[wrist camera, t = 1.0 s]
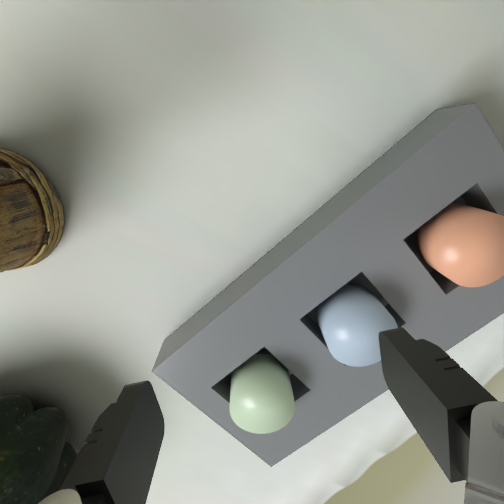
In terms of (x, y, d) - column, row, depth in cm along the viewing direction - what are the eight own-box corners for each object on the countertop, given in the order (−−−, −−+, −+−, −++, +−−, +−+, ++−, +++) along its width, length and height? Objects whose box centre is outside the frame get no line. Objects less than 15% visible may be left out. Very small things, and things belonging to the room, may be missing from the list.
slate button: (354, 272, 23) (371, 291, 20) (391, 314, 25) (411, 338, 22) (304, 311, 24) (312, 335, 21) (341, 350, 26) (354, 378, 23)
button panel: (436, 109, 23) (475, 102, 19) (526, 248, 26) (573, 266, 22) (164, 340, 28) (151, 371, 25) (268, 428, 32) (271, 466, 28)
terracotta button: (462, 188, 22) (498, 196, 19) (496, 239, 23) (534, 254, 20) (402, 235, 23) (427, 249, 20) (438, 280, 24) (466, 301, 21)
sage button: (262, 343, 25) (265, 370, 22) (301, 379, 27) (308, 410, 24) (219, 377, 26) (215, 407, 23) (258, 410, 28) (259, 443, 25)
